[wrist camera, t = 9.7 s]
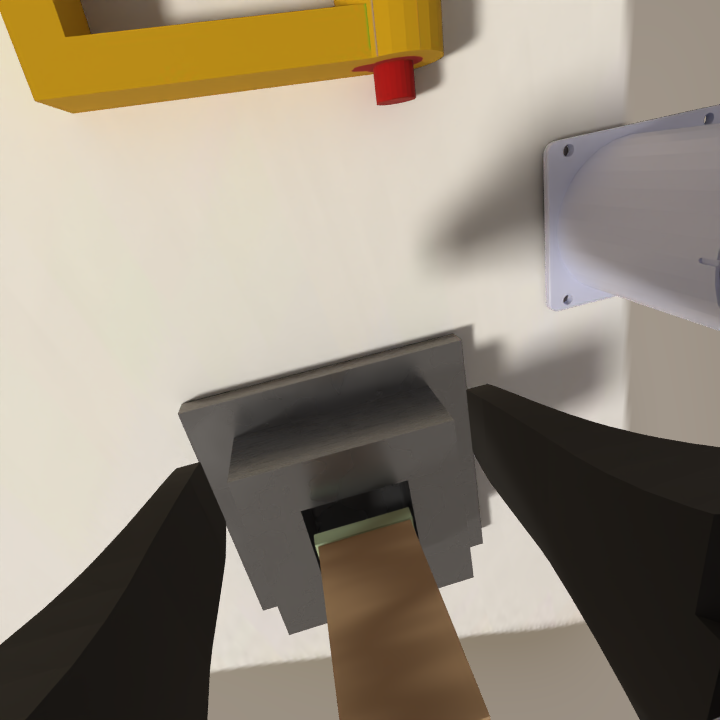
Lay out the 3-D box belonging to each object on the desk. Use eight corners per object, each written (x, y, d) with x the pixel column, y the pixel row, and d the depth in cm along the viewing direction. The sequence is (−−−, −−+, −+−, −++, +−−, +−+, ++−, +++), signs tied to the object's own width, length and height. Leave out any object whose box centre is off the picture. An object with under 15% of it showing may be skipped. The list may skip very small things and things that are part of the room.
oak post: (408, 506, 19) (493, 713, 12) (421, 573, 21) (502, 789, 13) (313, 534, 18) (340, 765, 11) (335, 600, 20) (370, 837, 13)
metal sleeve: (453, 333, 22) (500, 373, 18) (476, 531, 28) (516, 601, 24) (181, 403, 21) (156, 466, 17) (263, 596, 27) (261, 682, 22)
